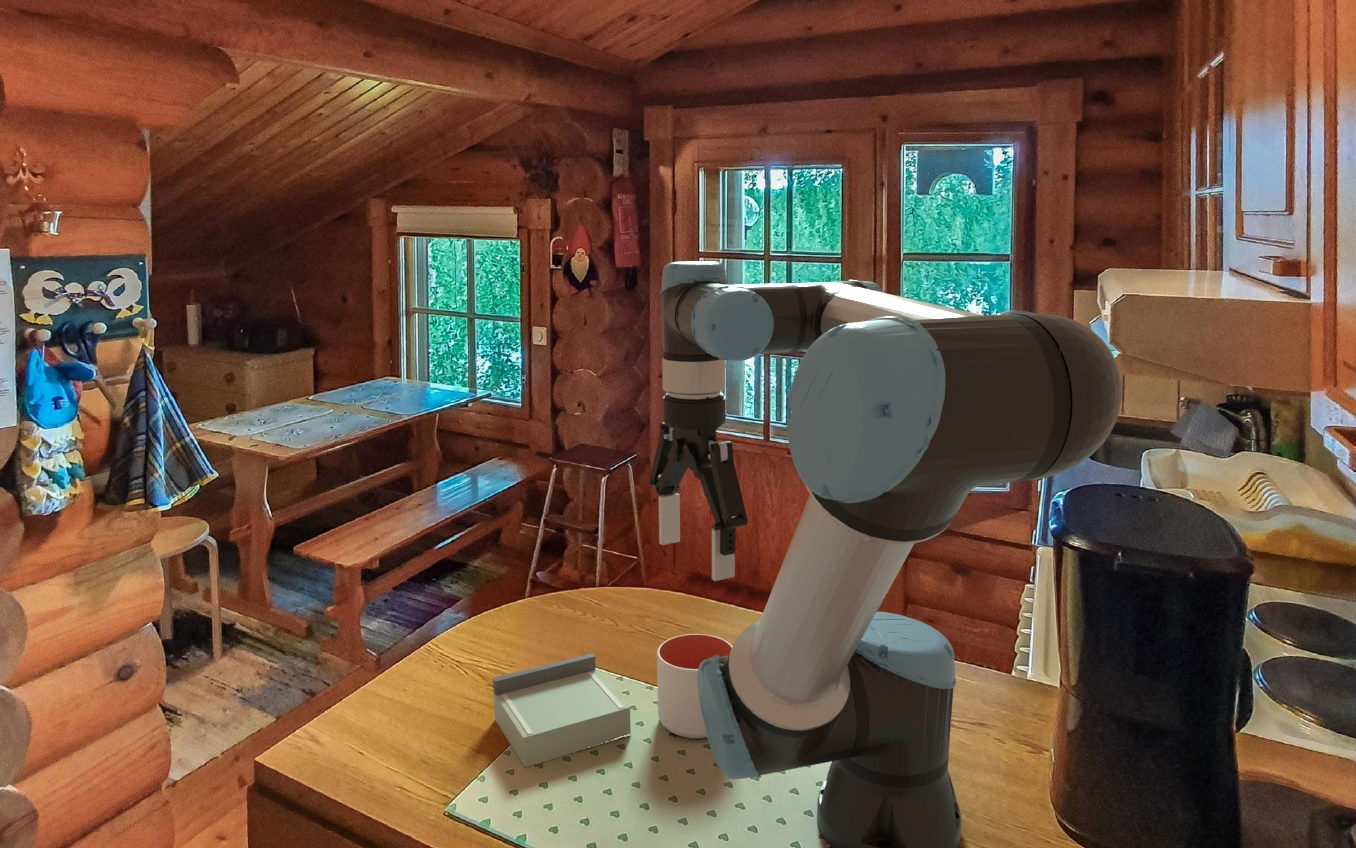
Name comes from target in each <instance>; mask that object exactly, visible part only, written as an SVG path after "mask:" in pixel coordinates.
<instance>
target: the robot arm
mask: <svg viewBox="0 0 1356 848" xmlns="http://www.w3.org/2000/svg"><path fill="white" fill-rule="evenodd" d="M661 276H662V277H661V279H662V280H661V290H660V291H659V293H660V294H659V295H660V298H661V325H662V326H661V327H662V329H661V331H662V361H661V362H662V363H661V365H662V366H661V367H662V370H661V371H662V390H664V392H666V393H665V394H664V395H663V396H662V403H663V404H662V409H663V410H662V413H663V415H662V416H663V417H662V418H663V419H662V421H663V422H662V421H661V422H660V424H659V439H658V442H657V447H656V450H655V454H654V458H653V462H652V467H651V471H650V475H649V480H648V481H649V485H650V486H651V487H655V492H656V494H657V495H658V527H659V528H658V539H659V540H658V543H659V544H660V545H661V546H664V545H670V544H674V543H680V542H681V502H680V501H681V499H680V498H681V496H680V495H681V494H679V491H681V489H680V488H681V487H680V483H681V481H682V479H683V477H684V475H685V474H686V472H687V470H688V469H689V470H690V471H692V472H693V476H694V477H695V478H696V479H698V480H699V481H700V484H701V486H702V489H703V492H704V494H705V498H706V501H707V503H708V506H709V509H710V511H711V515H712V517H713V520H714V524H713V525H712V526H711V527H710V529H711V580H712V581H714V582H718V581H722V580H727V579H730V578H731V579H732V578H734V577H735V575H736V573H735V572H736V571H735V569H736V568H735V567H736V566H735V565H736V563H735V562H736V561H735V560H736V556H735V555H736V553H735V552H736V544H737V543H736V541H737V540H736V539H737V537H736V530H737V528H739V527H745V526H747V525H748V522H749V520H748V516H747V513H746V512H747V511H746V508H745V503H744V498H743V494H742V490H741V486H740V483H739V478H738V474H737V468H736V466H735V462H734V446H733V443H732V441H731V440H730V441H729V440H728V441H721V442H719V441H718V436H717V431H718V429H719V428H720V427H722V426H723V425H724V424H726V419H727V418H726V417H727V414H726V413H727V412H726V410H727V407H726V405H727V401H726V399H727V397H726V395H725V394H724V393H723V391H724V390H725V389H726V369H727V363H726V361H733V362H742V361H747V360H749V359H752V358H754V357H756V356H757V355H762V354H781V353H794V352H805V354H804V355H803V356H802V358H801V361H800V362H799V364H798V366H797V369H796V370H795V374H794V377H793V379H792V383H791V387H790V391H789V397H788V402H787V405H788V407H789V408H790V411H791V414H790V417H789V418H788V419H787V420H786V422H787V440H788V447H789V451H790V456H791V459H792V462H793V465H794V467H795V470H796V472H797V474H798V476H799V477H800V479H801V480H802V483H803V484H804V485H805V487H806V489H807V492H808V493H809V495H808V499H807V501H806V503H805V505H804V509H803V511H802V513H801V515H800V519H799V520H798V523H797V526H796V529H795V531H794V533H793V537H792V538H791V542H790V544H789V547H788V548H787V552H786V553H785V557H784V559H783V561H782V563H781V567H780V569H779V572H778V575H777V576H776V579H775V582H774V585H773V587H772V589H771V591H770V595H769V597H768V600H767V602H766V605H765V607H764V609H763V612H762V615H761V617H760V620H758V621H756V622H754V623H752V624H750V625H749V626H747V627H746V628H745V629H744V630H742V632H741V633H740V634H739V635H738V636H737V638H736V639H735V641H734V642H733V645H732V646H733V647H732V649H731V652H730V654H729V655H728V656H723V657H719V656H718V655H715V656H713V657H712V658H709V659H706V660H704V661H702V662H701V663H700V665H699V668H698V674H697V683H698V694H699V701H700V707H701V712H702V717H703V722H704V726H705V730H706V734H707V742H708V744H709V747H710V750H711V753H712V756H713V758H714V761H715V762H716V765H717V767H718V768H719V770H720V771H721V773H723V775H724V776H726V777H727V778H729V779H732V780H743V779H751V778H755V779H761V778H762V776H765V775H770V774H775V773H779V772H781V773H782V772H786V771H790V770H795V769H801V768H805V767H809V766H815V765H820V764H825V763H831V764H830V766H829V768H828V772H827V775H826V779H825V781H824V782H823V783H822V786H821V788H820V790H819V793H818V796H817V807H816V809H817V810H816V813H817V814H816V823H817V827H818V830H819V832H820V834H821V835H822V838H823V839H824V840H825V842H826V843H827V844H828V845H829V846H830V847H831V848H960V845H961V841H962V840H961V838H962V824H963V823H962V821H963V820H962V813H961V810H960V806H959V803H958V801H957V796H956V792H955V789H954V785H953V781H952V778H951V775H950V772H949V759H950V756H949V755H950V745H951V744H950V743H951V730H952V713H953V699H954V689H955V687H956V683H957V679H956V669H955V652H954V648H953V646H952V644H951V643H950V641H949V640H948V639H947V638H946V637H945V636H944V635H943V634H942V632H940V631H939V630H938V629H935V628H934V627H932V626H931V625H928V624H926V623H924V622H923V621H921V620H918V619H914V618H912V617H908V616H904V615H902V614H897V613H891V612H885V611H878V610H879V608H880V607H881V605H882V603H883V602H884V599H885V597H886V596H887V594H888V592H889V590H890V588H892V587H891V586H892V585H893V583H894V581H895V579H896V578H897V576H898V573H900V570H901V568H902V566H903V564H904V563H905V561H906V559H907V557H908V556H909V554H910V552H911V550H912V549H913V547H914V545H915V544H917V543H923V542H925V541H928V540H929V541H930V540H931V539H933V538H935V537H937V536H938V535H940V534H941V533H942V532H944V531H945V530H946V529H947V528H948V527H949V525H951V523H952V522H953V520H954V519H955V517H956V515H957V513H958V511H959V510H960V509H961V507H962V505H963V504H964V501H965V499H966V498H967V496H968V495H969V493H970V492H971V491H973V489H975V488H977V487H982V486H992V485H998V484H1009V483H1015V482H1024V481H1027V482H1028V481H1033V480H1041V479H1047V478H1050V477H1053V476H1056V475H1060V474H1063V473H1066V472H1067V471H1069V470H1072V469H1073V468H1075V467H1076V466H1079V464H1082V463H1083V462H1085V461H1086V460H1088V458H1090V457H1091V456H1092V455H1093V454H1094V453H1095V452H1096V451H1097V450H1098V449H1100V447H1101V446H1102V445H1103V444H1104V443H1105V441H1106V440H1107V439H1108V437H1109V435H1110V434H1111V432H1112V430H1113V429H1114V427H1115V425H1116V423H1117V420H1118V417H1119V414H1120V411H1121V410H1120V409H1121V406H1122V405H1121V404H1122V399H1123V388H1122V386H1123V385H1122V383H1123V382H1122V378H1121V377H1122V376H1121V372H1120V368H1119V364H1118V363H1117V360H1116V358H1115V356H1114V354H1113V352H1112V350H1111V349H1110V348H1109V346H1108V345H1107V344H1106V342H1105V341H1104V340H1103V338H1101V337H1100V336H1099V335H1098V334H1097V333H1096V332H1095V331H1093V329H1092V328H1090V327H1088V326H1087V325H1084V324H1082V323H1081V322H1079V321H1077V320H1075V319H1073V318H1069V317H1066V316H1062V315H1057V314H1052V313H1051V314H1050V313H1039V312H1031V311H1026V310H1012V309H1011V310H1006V311H1005V310H1004V311H1002V312H999V313H996V314H986V315H985V314H984V315H983V314H979V313H974V312H969V311H966V310H961V309H956V308H952V307H948V306H945V305H944V306H943V305H938V304H935V303H934V304H933V303H931V302H926V301H921V300H918V299H917V300H916V299H912V298H908V297H904V296H900V295H896V294H895V295H894V294H890V293H886V292H884V291H883V290H882V288H881V286H880V285H879V284H878V283H876V282H873V281H864V280H862V281H861V280H857V279H856V280H855V279H842V280H840V281H822V282H820V281H819V282H800V283H798V282H797V283H793V282H790V283H787V282H786V283H784V282H783V283H782V282H781V283H752V284H751V283H748V284H728V281H727V270H726V267H725V265H724V264H723V263H721V262H719V261H710V260H709V261H705V260H704V261H703V260H701V261H700V260H698V261H697V260H693V261H692V260H691V261H674V262H673V261H672V262H669V263H667V264H665V265H664V267H663V269H662V273H661Z"/></svg>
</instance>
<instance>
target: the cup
mask: <svg viewBox="0 0 1356 848" xmlns="http://www.w3.org/2000/svg"><path fill="white" fill-rule="evenodd" d="M732 647H733V645H732V644H731V643H730V642H729V641H727V640H725V639H724V638H721V637H718V636H716V635H715V636H714V635H711V634H704V633H690V634H687V633H686V634H682V635H678V636H674V637H671V638H669V639H667V640H665V641H664V642H662V643H661V644H660V645H659V647H658V648H657V651H656V661H657V662H656V663H657V664H656V665H657V666H656V670H657V673H656V674H657V676H656V677H657V683H656V684H657V715H658V719H659V722H660V723H661V724H662V726H663V728H665V729H666V730H667V731H669V732H670V733H672V734H674V735H676V736H679V737H683V738H686V739H687V738H689V739H705V738H707V734H706V730H705V726H704V722H703V717H702V712H701V707H700V701H699V694H698V683H697V674H698V668H699V665H700V663H701V662H702V661H704V660H706V659H709V658H712V657H713V656H715V655H718V656H719V657H723V656H728V655H729V654H730V652H731V649H732ZM707 739H708V738H707Z"/></svg>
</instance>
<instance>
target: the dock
mask: <svg viewBox="0 0 1356 848" xmlns="http://www.w3.org/2000/svg"><path fill="white" fill-rule="evenodd" d="M596 665H597V664H596V655H595V654H594V653H589V654H584V655H581V656H577V657H571V658H568V659H565V660H560V661H556V662H552V663H548V664H544V665H540V666H536V667H532V668H528V669H525V670H524V669H523V670H520V671H515V672H513V673H508V674H504V675H500V676H496V677H492V691H493V707H494V720H495V722H496V724H497V725H498V727H499V728H500V730H501V731H502V733H503V734H504V735H503V736H504V737H505V738H506V740H507V741H508V743H509V745H510V746H511V747H512V749H513V751H514V752H515V755H517V757H518V759H519V760H520V762H521V763H522V766H523V767H524V768H528V767H531V766H535V765H538V764H543V763H544V762H548V761H551V760H552V761H553V760H555V759H558V758H562V757H565V756H568V755H571V753H572V754H575V753H578V752H577V751H579V752H581V751H580V750H582V751H585V750H587V749H586V748H588V747H592V748H594V747H593V746H595V745H598V744H601V743H605V742H606V741H611V740H613V739H615V738H618V737H620V736H624V735H627V734H631V707H630V706H629V705H628V703H626V701H625V700H624V699H623V698H622V697H621V695H620V694H618V693H617V692H616V690H615V689H614V688H613V687H612V685H610V684H609V682H608V681H606V679H605V678H604V677H603V676H602V675H601V673H599V672H598V670H597V669H596ZM631 735H632V734H631ZM605 744H606V743H605ZM595 747H596V746H595ZM584 749H585V750H584ZM564 755H565V756H564Z"/></svg>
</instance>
